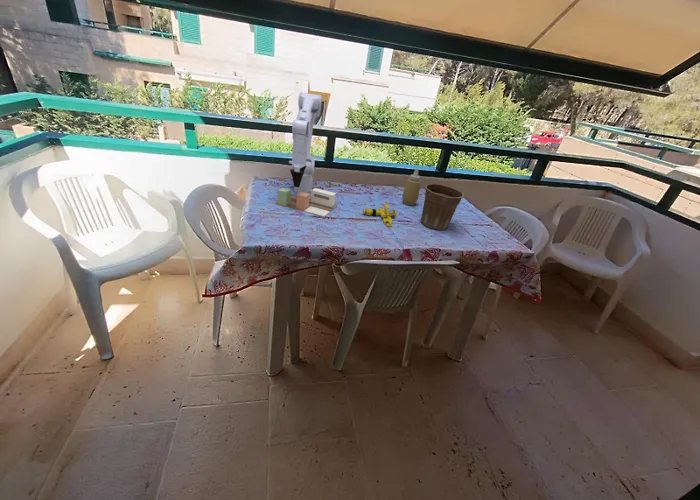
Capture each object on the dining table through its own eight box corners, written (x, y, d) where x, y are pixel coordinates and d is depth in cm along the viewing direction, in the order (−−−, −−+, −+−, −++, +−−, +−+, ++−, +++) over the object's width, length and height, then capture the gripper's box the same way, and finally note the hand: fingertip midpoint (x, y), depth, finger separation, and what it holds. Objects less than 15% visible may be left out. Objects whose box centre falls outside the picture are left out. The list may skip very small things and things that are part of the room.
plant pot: (459, 228, 146) (470, 193, 138) (440, 236, 135) (451, 199, 127) (429, 214, 155) (438, 181, 147) (409, 221, 144) (418, 186, 137)
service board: (290, 195, 151) (290, 193, 150) (336, 208, 146) (337, 205, 145) (274, 205, 138) (274, 203, 138) (324, 219, 133) (324, 217, 133)
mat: (310, 207, 140) (310, 206, 139) (329, 212, 138) (329, 211, 137) (304, 211, 135) (304, 210, 134) (324, 217, 133) (324, 216, 132)
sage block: (282, 200, 142) (282, 187, 139) (290, 202, 141) (291, 189, 138) (277, 203, 138) (278, 190, 135) (285, 205, 137) (286, 192, 134)
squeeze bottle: (413, 208, 160) (422, 172, 151) (398, 203, 163) (406, 167, 154) (418, 203, 166) (427, 169, 157) (404, 199, 169) (412, 165, 160)
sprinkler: (361, 198, 148) (393, 200, 151) (360, 206, 151) (391, 208, 153) (367, 221, 133) (403, 223, 135) (366, 229, 135) (400, 231, 138)
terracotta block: (300, 205, 140) (301, 191, 137) (308, 207, 139) (309, 194, 136) (296, 208, 137) (297, 194, 134) (304, 210, 136) (305, 196, 133)
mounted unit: (312, 199, 148) (313, 186, 145) (337, 205, 145) (338, 193, 142) (308, 202, 144) (309, 189, 141) (333, 209, 141) (334, 196, 138)
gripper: (291, 146, 137) (290, 177, 144) (287, 154, 124) (285, 188, 131) (308, 148, 138) (306, 179, 144) (305, 156, 125) (303, 190, 132)
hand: (297, 184), depth 138 cm, fingers open, 7 cm apart
